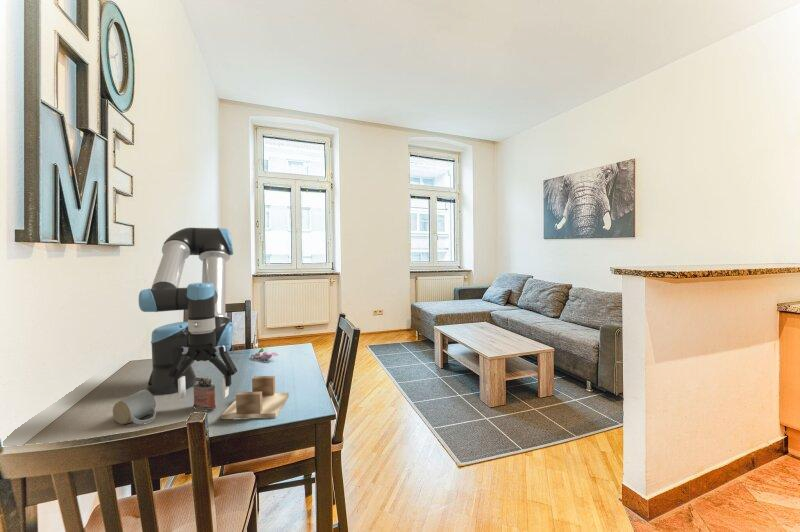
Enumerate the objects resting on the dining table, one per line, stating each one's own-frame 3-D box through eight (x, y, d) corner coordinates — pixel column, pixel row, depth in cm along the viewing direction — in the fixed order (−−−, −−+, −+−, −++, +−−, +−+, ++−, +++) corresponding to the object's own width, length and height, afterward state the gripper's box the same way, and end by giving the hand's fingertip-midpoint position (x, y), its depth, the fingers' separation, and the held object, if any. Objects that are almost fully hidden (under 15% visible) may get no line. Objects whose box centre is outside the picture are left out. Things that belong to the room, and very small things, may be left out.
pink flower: (248, 362, 160) (273, 361, 154) (246, 349, 160) (271, 348, 154) (258, 358, 165) (282, 357, 160) (257, 346, 166) (281, 344, 160)
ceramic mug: (110, 424, 101) (109, 398, 101) (139, 411, 109) (138, 387, 108) (137, 430, 98) (136, 403, 97) (164, 416, 106) (163, 392, 105)
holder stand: (221, 419, 103) (220, 395, 103) (241, 398, 118) (240, 376, 118) (275, 418, 104) (275, 393, 104) (288, 396, 119) (288, 375, 119)
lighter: (218, 407, 111) (217, 377, 111) (209, 412, 108) (208, 380, 108) (199, 403, 114) (198, 374, 113) (190, 408, 111) (189, 377, 110)
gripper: (153, 335, 105) (156, 403, 106) (237, 333, 107) (239, 400, 107) (168, 329, 113) (170, 393, 113) (246, 327, 114) (248, 390, 115)
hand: (204, 397), depth 110 cm, fingers open, 13 cm apart
